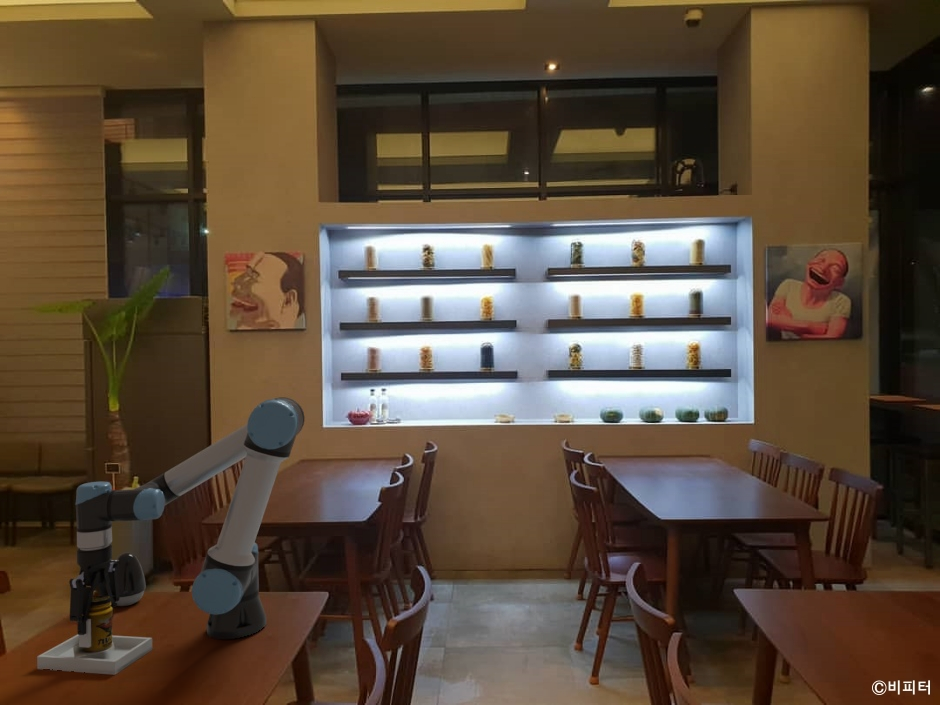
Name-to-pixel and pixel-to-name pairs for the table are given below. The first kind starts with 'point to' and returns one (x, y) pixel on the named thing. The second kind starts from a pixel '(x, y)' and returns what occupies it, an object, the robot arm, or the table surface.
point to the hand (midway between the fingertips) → (96, 640)
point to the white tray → (95, 656)
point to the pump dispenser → (129, 579)
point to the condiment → (99, 627)
